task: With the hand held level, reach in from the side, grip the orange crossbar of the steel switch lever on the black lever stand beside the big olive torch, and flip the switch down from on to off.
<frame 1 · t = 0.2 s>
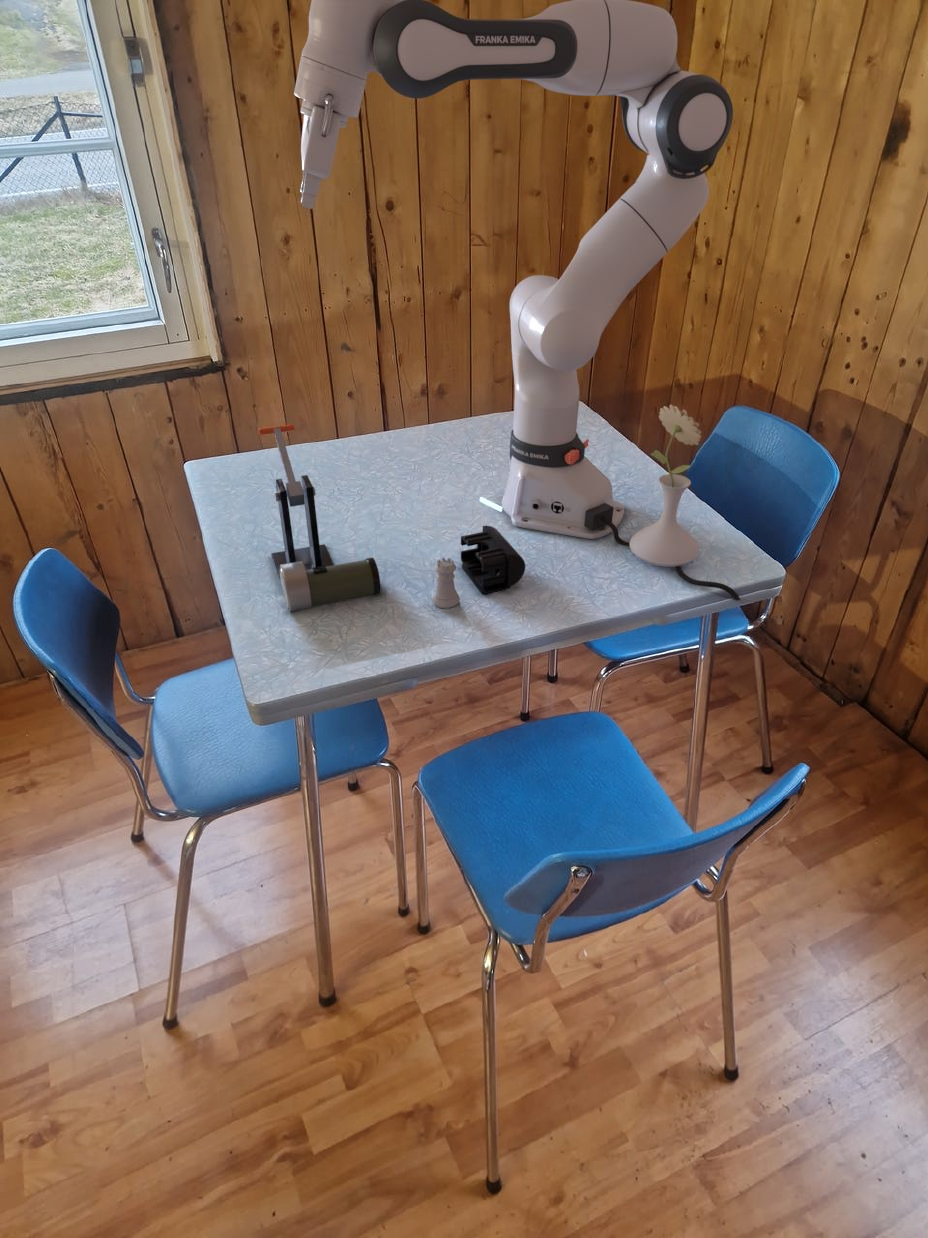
hand: (306, 201, 119), 52 cm above the table, tool tilted 20°, fingers open, 8 cm apart
torch: (332, 599, 129), on the table
flower in vase: (659, 554, 140), on the table
rook chess piece: (445, 607, 127), on the table
black lever stand: (305, 571, 135), on the table
end cap: (491, 577, 134), on the table
switch lever: (286, 462, 130), point 16 cm above the table, hinge at 22.0°
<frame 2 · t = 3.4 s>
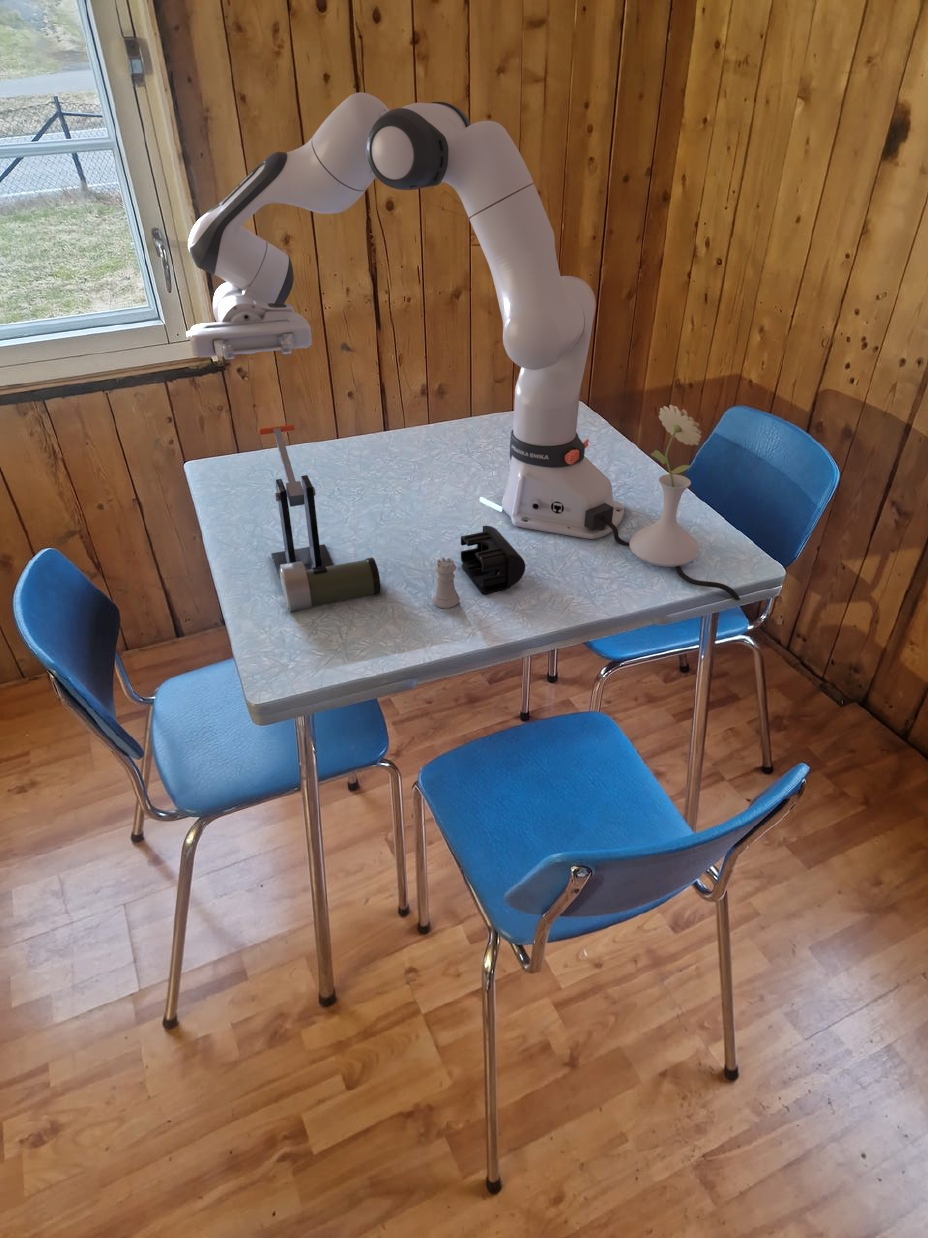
hand: (258, 351, 137), 29 cm above the table, tool horizontal, fingers open, 8 cm apart
nothing on the table moved.
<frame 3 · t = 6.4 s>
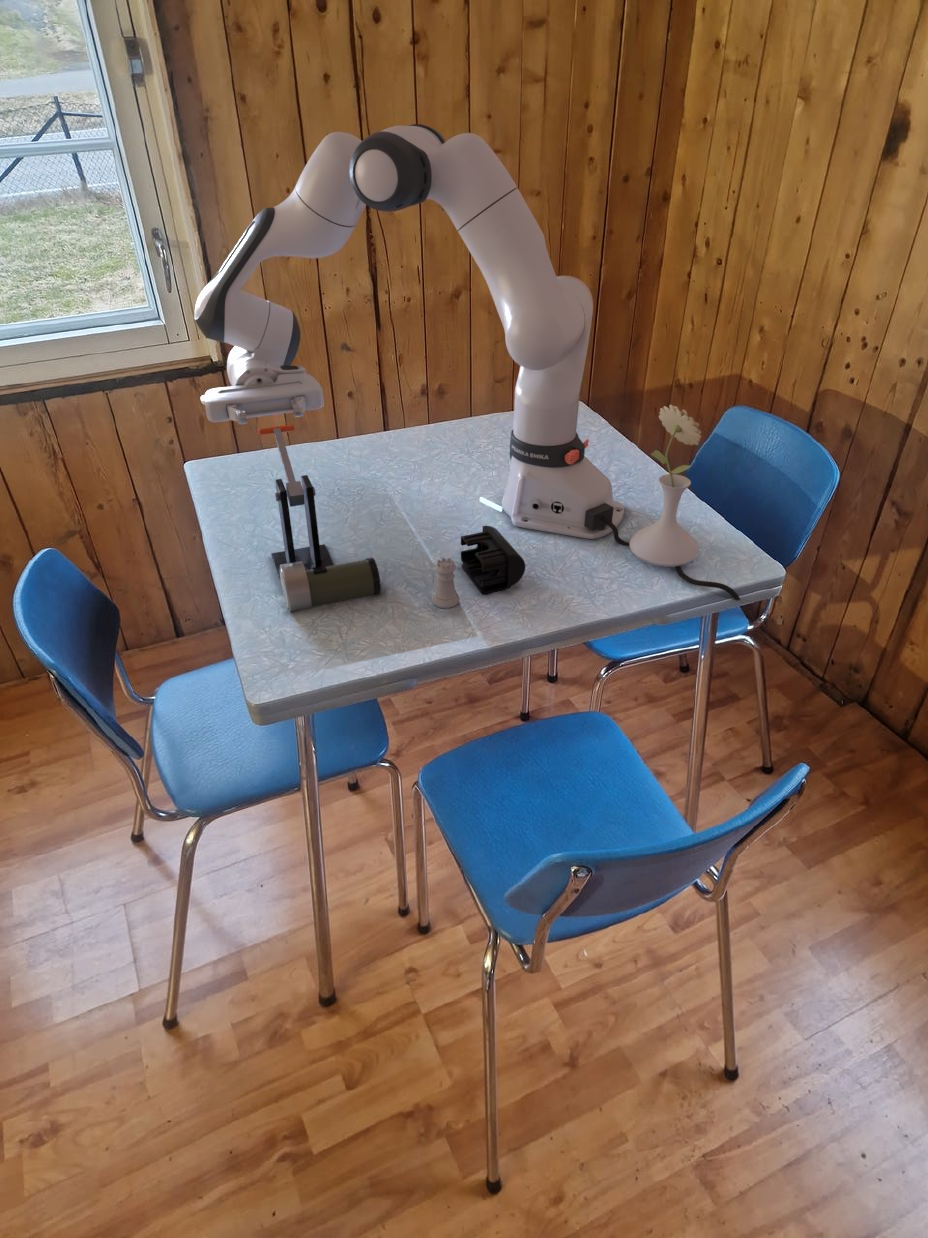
hand: (271, 416, 139), 19 cm above the table, tool horizontal, fingers open, 8 cm apart
nothing on the table moved.
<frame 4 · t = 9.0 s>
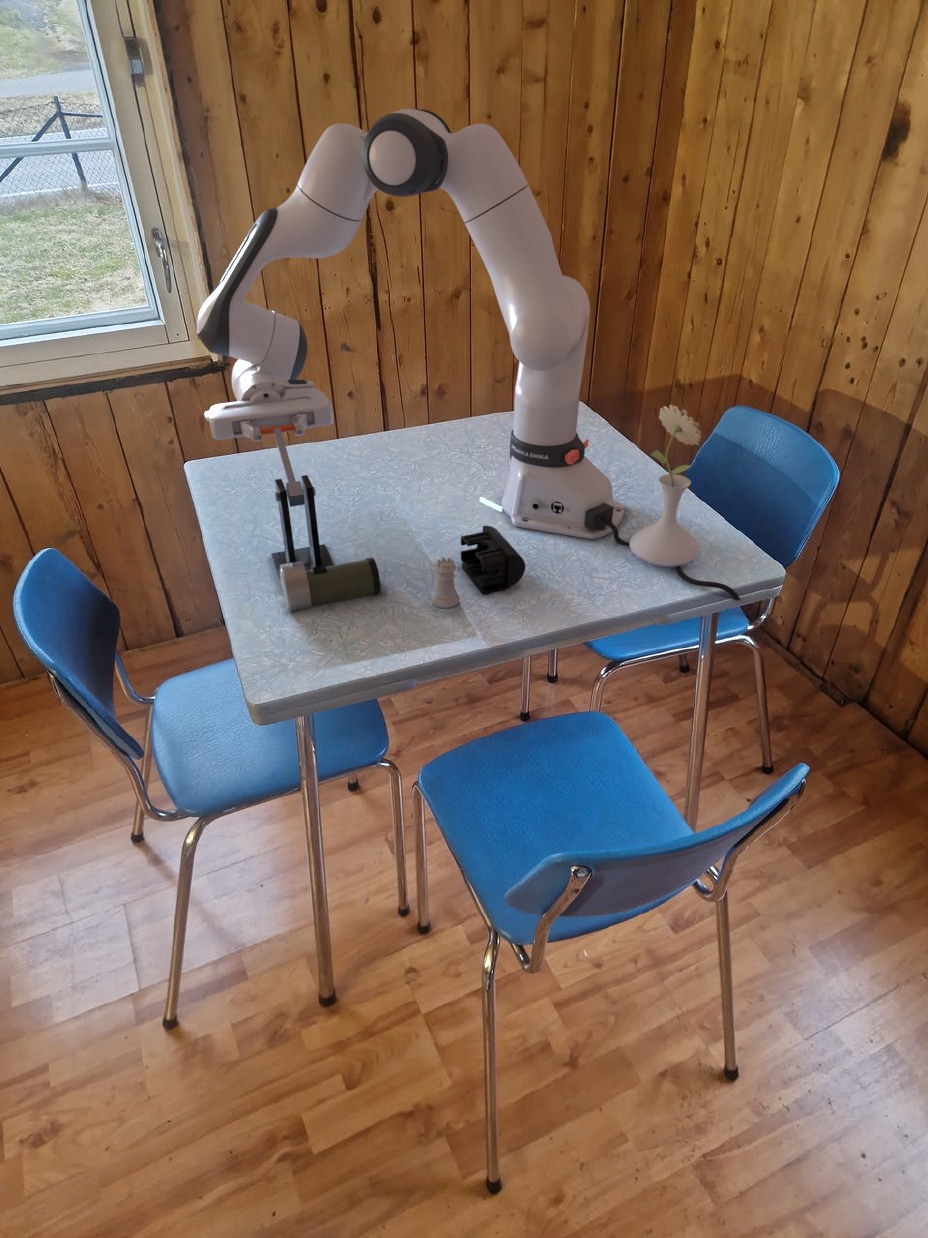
hand: (278, 433, 133), 19 cm above the table, tool horizontal, fingers closed on switch lever, 5 cm apart
switch lever: (286, 462, 130), point 16 cm above the table, hinge at 22.0°, touching gripper
everything else where it was.
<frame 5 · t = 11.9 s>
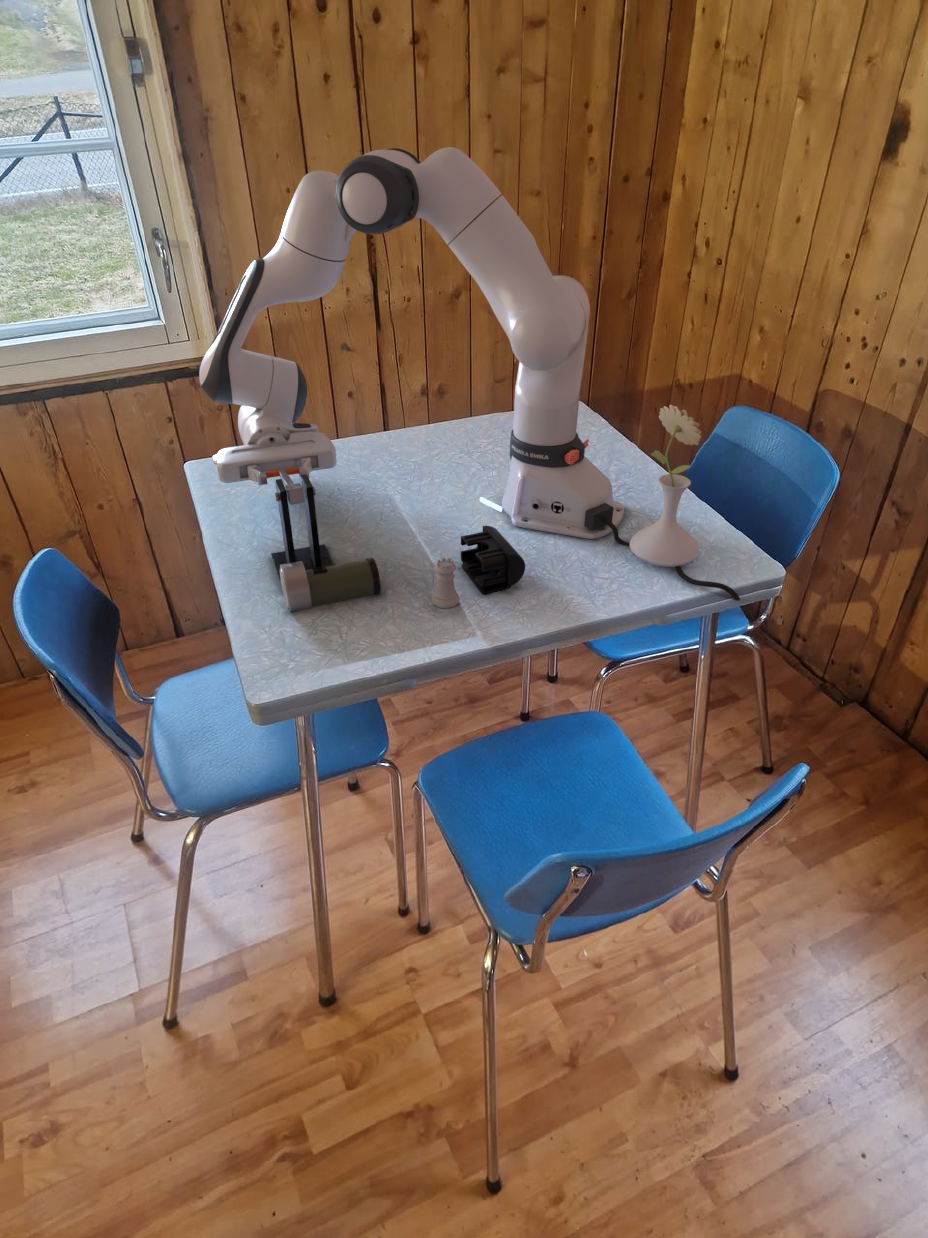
hand: (284, 477, 138), 11 cm above the table, tool horizontal, fingers closed on switch lever, 5 cm apart
switch lever: (288, 483, 133), point 13 cm above the table, hinge at -11.0°, touching gripper
everything else where it was.
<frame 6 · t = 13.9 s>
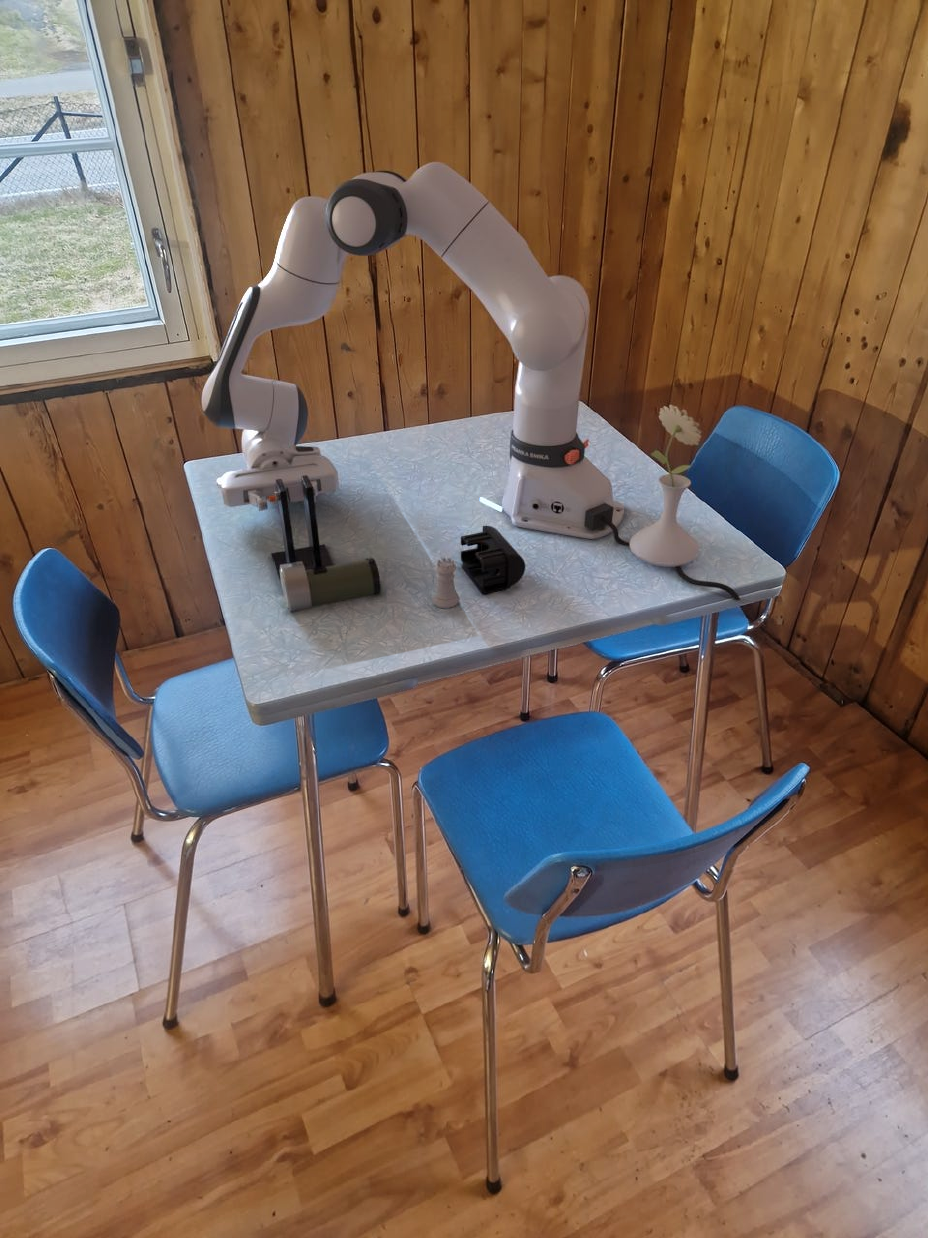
hand: (287, 502, 140), 7 cm above the table, tool horizontal, fingers open, 7 cm apart
switch lever: (290, 495, 133), point 11 cm above the table, hinge at -27.7°
everything else where it was.
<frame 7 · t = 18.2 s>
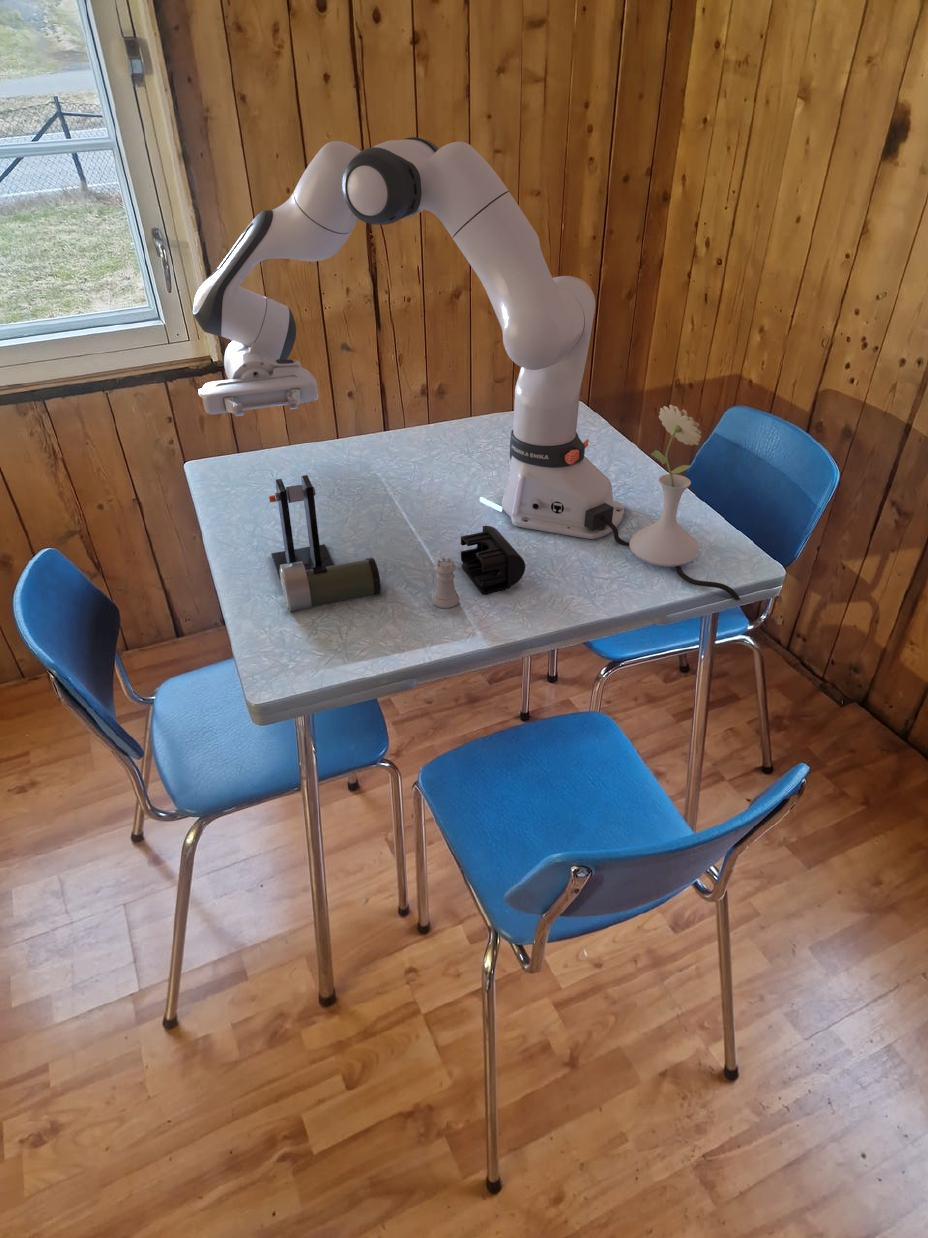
hand: (266, 408, 143), 19 cm above the table, tool horizontal, fingers open, 8 cm apart
nothing on the table moved.
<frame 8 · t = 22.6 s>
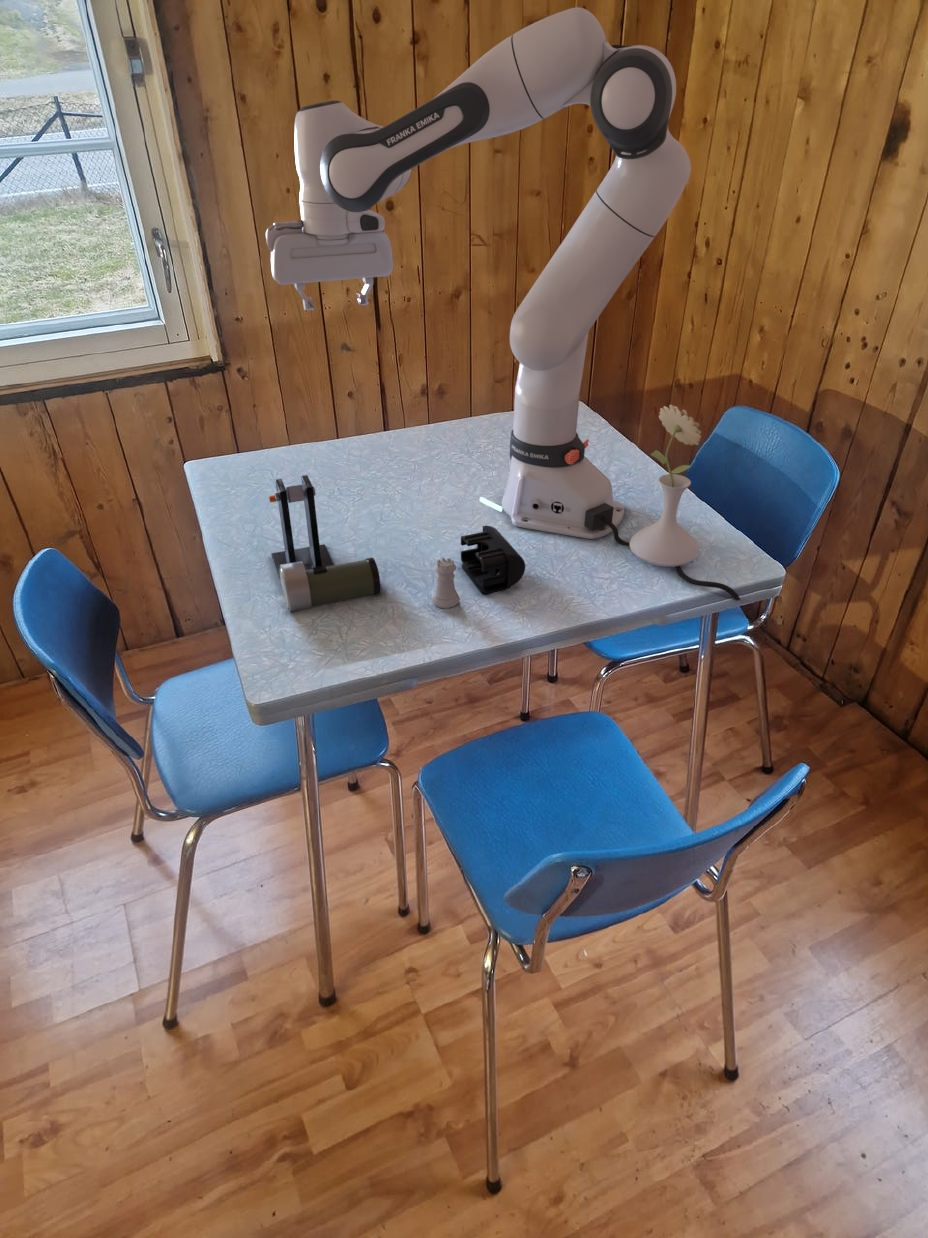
hand: (336, 306, 142), 33 cm above the table, tool pointing down, fingers open, 8 cm apart
nothing on the table moved.
at the end: switch lever at -28° (first picture: +22°); the gripper is holding nothing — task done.
